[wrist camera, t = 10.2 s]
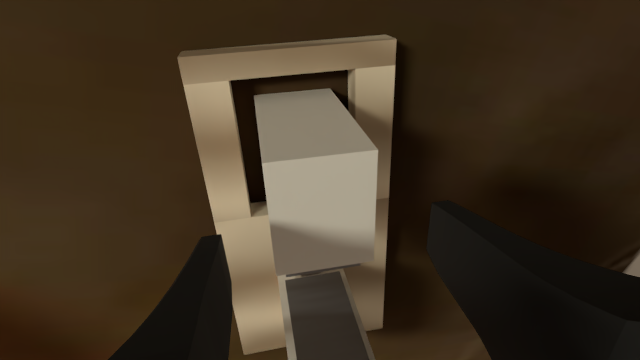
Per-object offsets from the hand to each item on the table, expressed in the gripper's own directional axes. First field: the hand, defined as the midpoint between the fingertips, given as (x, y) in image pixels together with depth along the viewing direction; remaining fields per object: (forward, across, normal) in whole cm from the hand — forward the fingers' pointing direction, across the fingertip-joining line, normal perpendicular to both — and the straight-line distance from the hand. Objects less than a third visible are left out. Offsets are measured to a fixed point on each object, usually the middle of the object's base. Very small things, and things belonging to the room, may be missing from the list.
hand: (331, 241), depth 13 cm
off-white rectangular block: (+9, 0, 0) cm, 9 cm away
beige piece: (+9, 0, +5) cm, 11 cm away
